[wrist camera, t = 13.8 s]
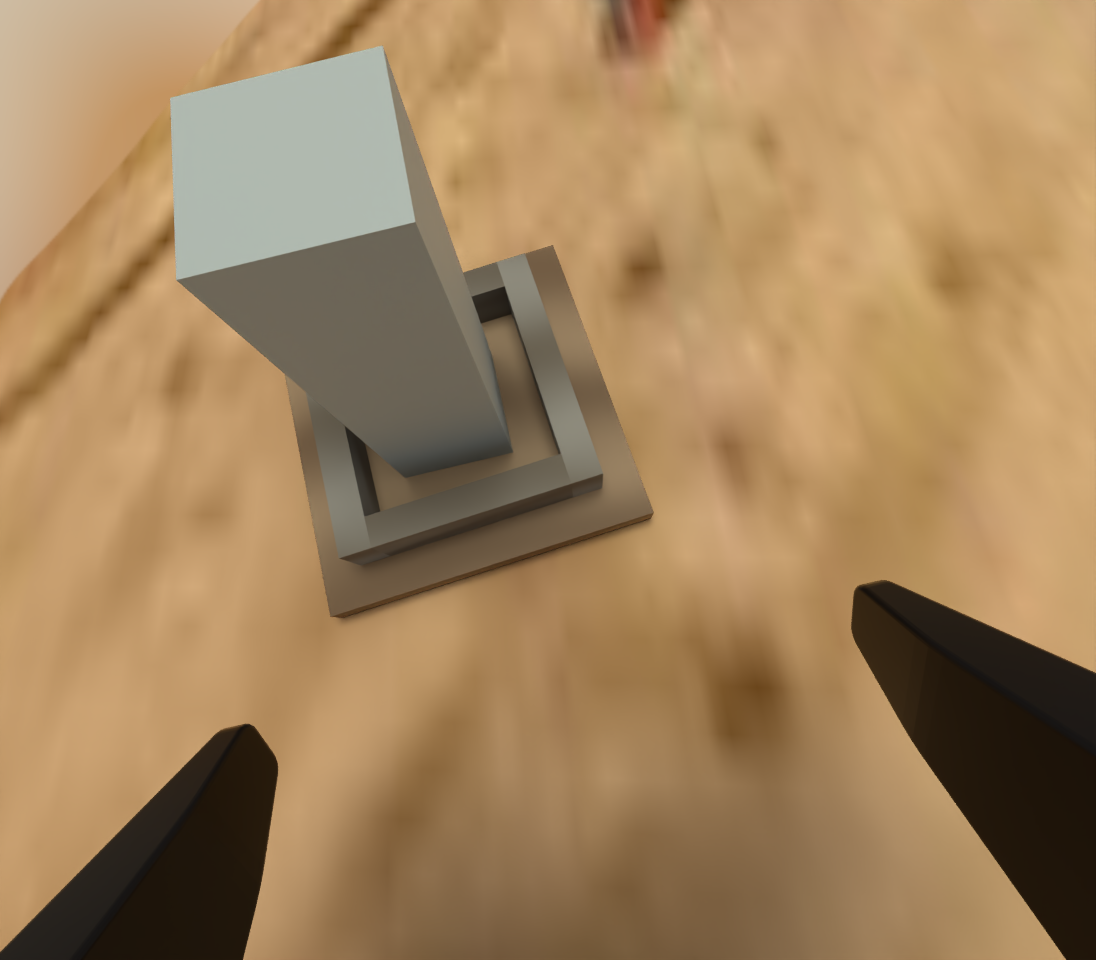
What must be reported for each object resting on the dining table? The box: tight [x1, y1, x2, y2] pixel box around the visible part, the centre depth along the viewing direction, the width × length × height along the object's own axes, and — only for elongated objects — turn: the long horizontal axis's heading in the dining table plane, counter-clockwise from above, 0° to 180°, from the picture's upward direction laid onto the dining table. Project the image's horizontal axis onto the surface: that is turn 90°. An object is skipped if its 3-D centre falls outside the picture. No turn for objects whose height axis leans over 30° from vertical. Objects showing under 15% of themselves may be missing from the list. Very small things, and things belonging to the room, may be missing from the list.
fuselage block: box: [170, 46, 513, 478], centre depth 17 cm, size 4×4×13 cm
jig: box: [285, 245, 654, 618], centre depth 23 cm, size 13×13×3 cm
